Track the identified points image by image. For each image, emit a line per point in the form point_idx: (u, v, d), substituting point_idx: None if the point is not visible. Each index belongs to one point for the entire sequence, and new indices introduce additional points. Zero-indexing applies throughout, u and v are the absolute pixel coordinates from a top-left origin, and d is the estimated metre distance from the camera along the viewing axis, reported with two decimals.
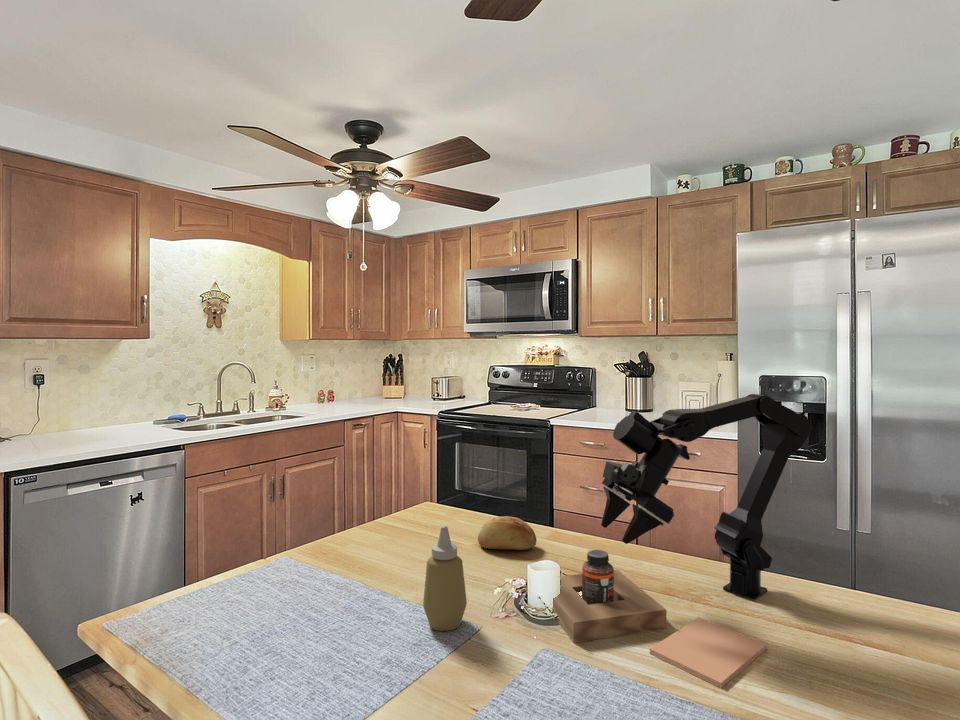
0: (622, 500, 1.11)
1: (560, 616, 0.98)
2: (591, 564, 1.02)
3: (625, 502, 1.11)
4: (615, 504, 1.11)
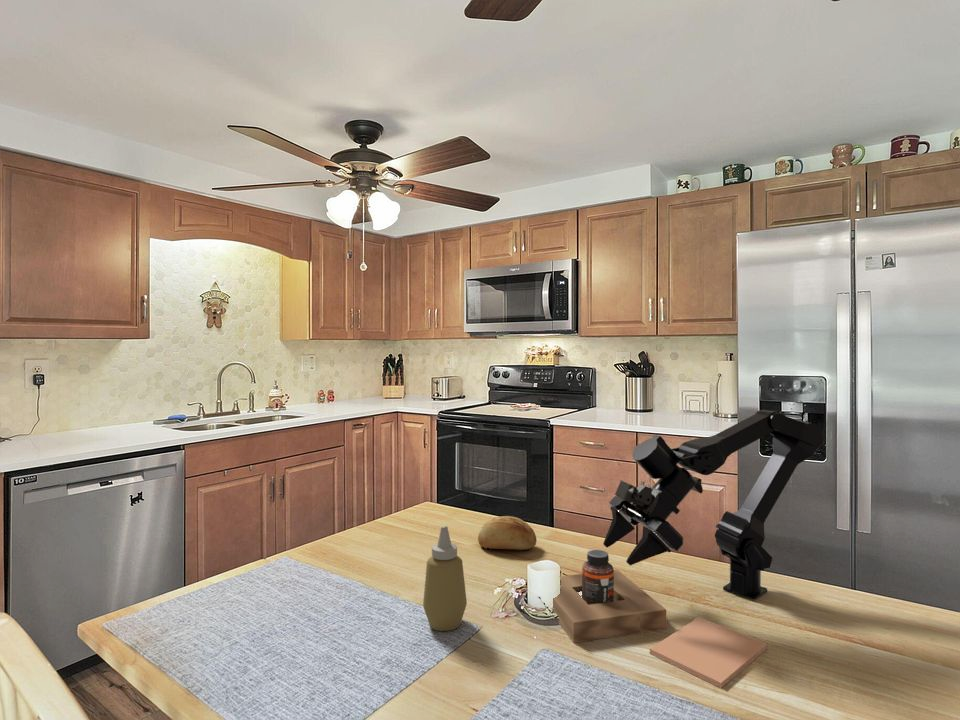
0: (627, 523, 1.11)
1: (560, 616, 0.98)
2: (591, 564, 1.02)
3: (630, 525, 1.11)
4: (620, 525, 1.10)
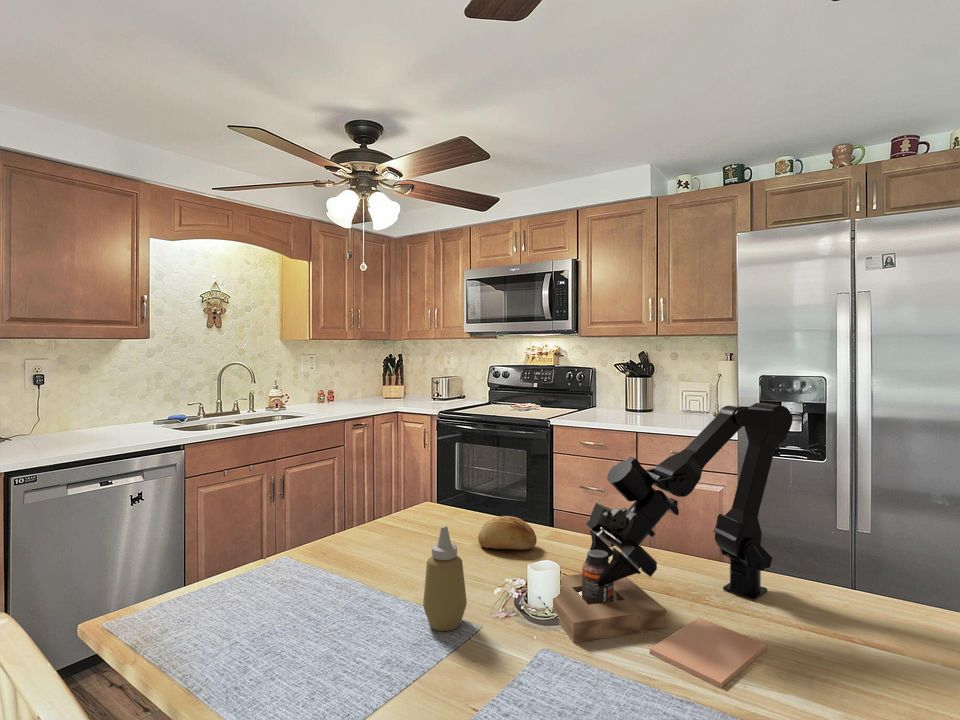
0: (607, 547, 1.08)
1: (560, 616, 0.98)
2: (591, 564, 1.02)
3: (610, 550, 1.08)
4: None
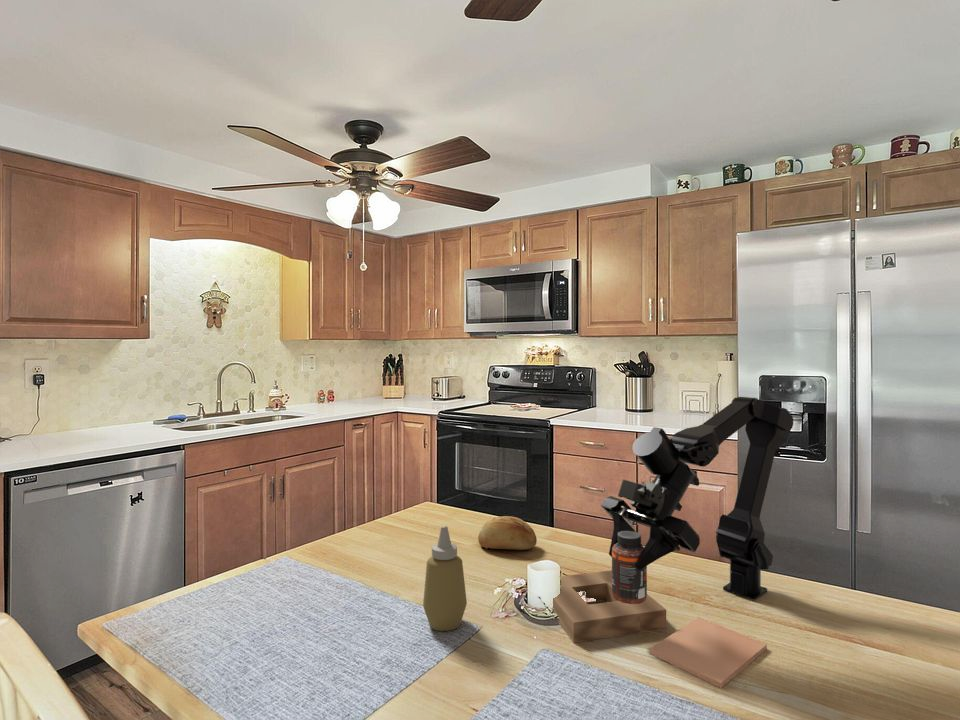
0: (630, 527, 1.00)
1: (560, 616, 0.98)
2: (625, 547, 0.93)
3: (632, 530, 1.00)
4: None
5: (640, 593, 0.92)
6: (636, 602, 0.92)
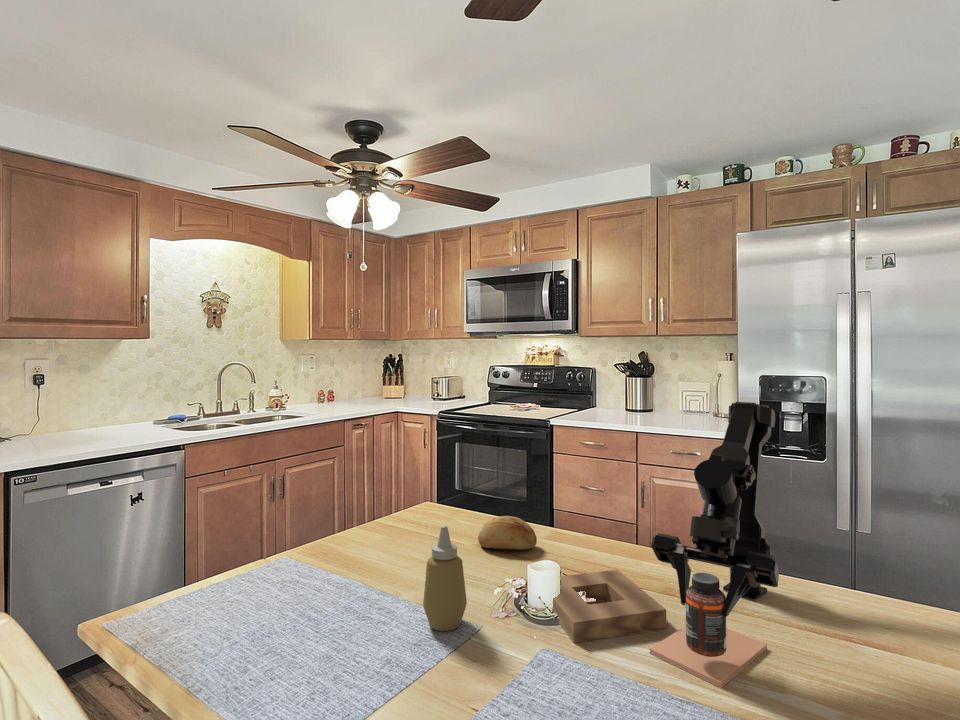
0: (688, 566, 0.90)
1: (560, 616, 0.98)
2: (708, 594, 0.83)
3: (689, 569, 0.91)
4: (686, 572, 0.89)
5: (725, 641, 0.83)
6: (722, 653, 0.83)
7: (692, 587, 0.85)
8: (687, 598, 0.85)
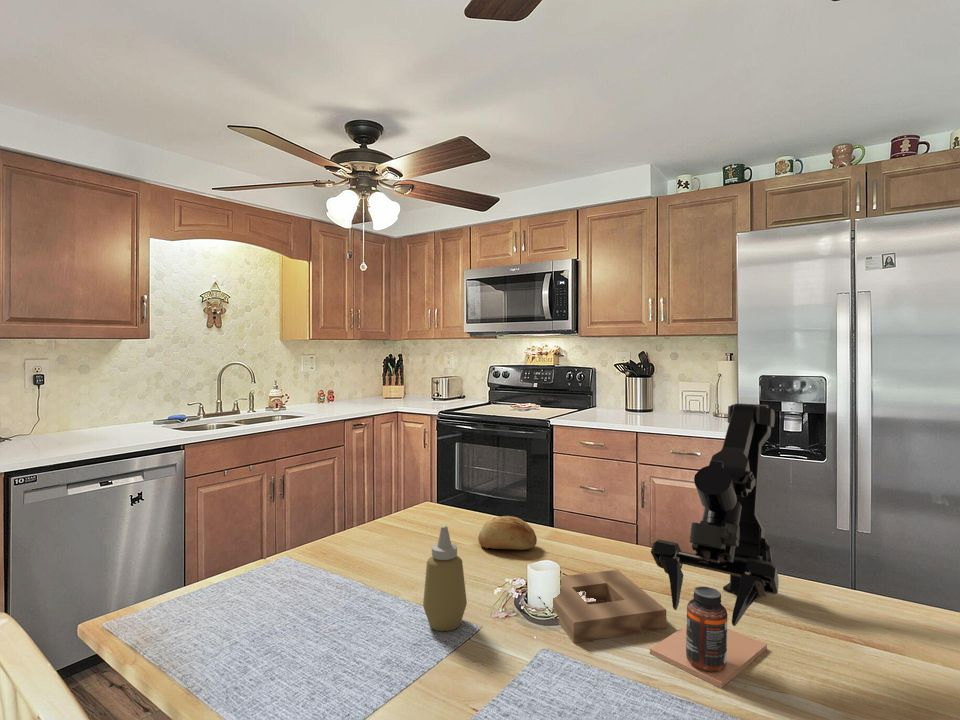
0: (680, 571, 0.91)
1: (560, 616, 0.98)
2: (710, 608, 0.83)
3: (681, 573, 0.91)
4: (679, 577, 0.89)
5: (725, 656, 0.83)
6: (722, 668, 0.83)
7: (694, 601, 0.85)
8: (688, 612, 0.85)
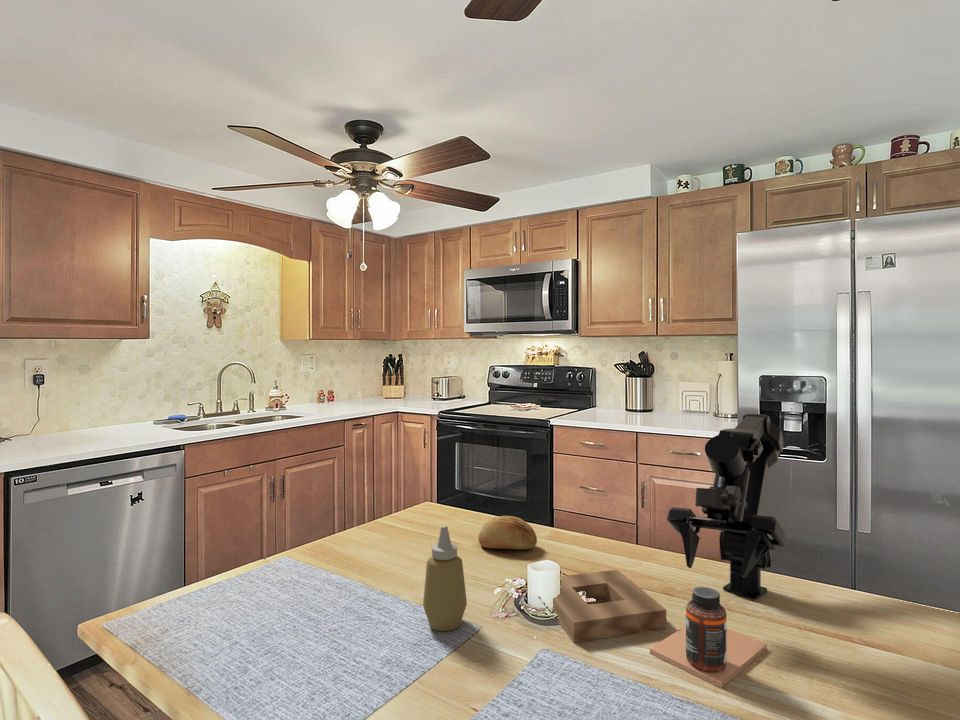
0: (695, 534, 1.00)
1: (560, 616, 0.98)
2: (709, 608, 0.83)
3: (696, 536, 1.00)
4: (692, 539, 0.98)
5: (725, 656, 0.83)
6: (722, 668, 0.83)
7: (692, 601, 0.85)
8: (687, 612, 0.85)
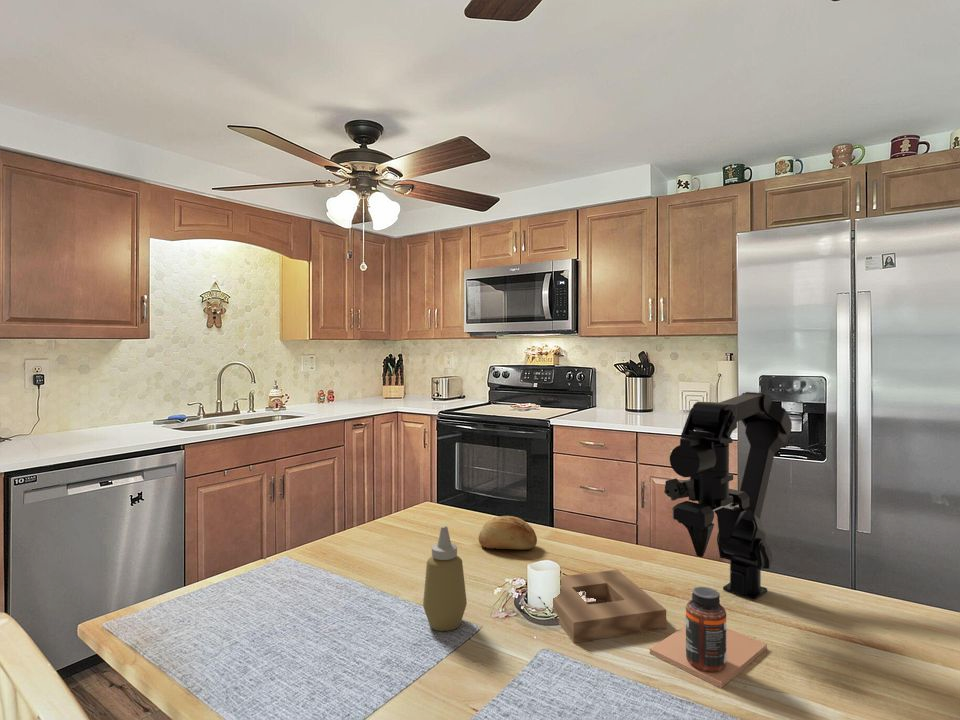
0: (729, 511, 1.05)
1: (560, 616, 0.98)
2: (709, 608, 0.83)
3: (733, 512, 1.04)
4: (724, 517, 1.06)
5: (725, 656, 0.83)
6: (722, 668, 0.83)
7: (692, 601, 0.85)
8: (687, 612, 0.85)
